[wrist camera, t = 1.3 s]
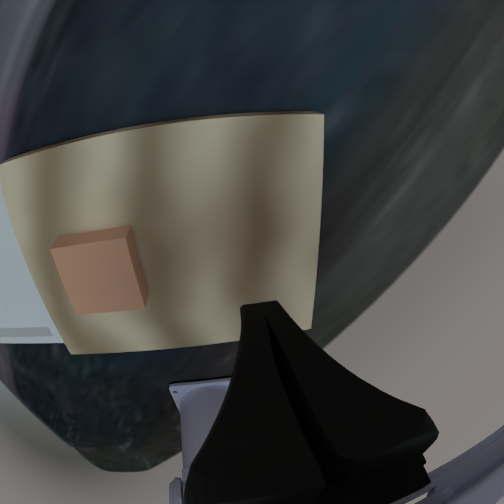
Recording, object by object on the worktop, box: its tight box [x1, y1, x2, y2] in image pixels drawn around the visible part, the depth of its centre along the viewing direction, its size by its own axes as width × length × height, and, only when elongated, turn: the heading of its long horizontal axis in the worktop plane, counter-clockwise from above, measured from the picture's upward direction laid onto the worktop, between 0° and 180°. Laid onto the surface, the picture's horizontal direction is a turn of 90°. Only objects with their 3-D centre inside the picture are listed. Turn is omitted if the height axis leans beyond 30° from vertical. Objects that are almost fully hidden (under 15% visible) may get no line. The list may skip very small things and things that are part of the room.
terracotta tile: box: [50, 225, 148, 315], centre depth 17 cm, size 5×5×2 cm
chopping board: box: [0, 111, 324, 354], centre depth 19 cm, size 20×16×2 cm
